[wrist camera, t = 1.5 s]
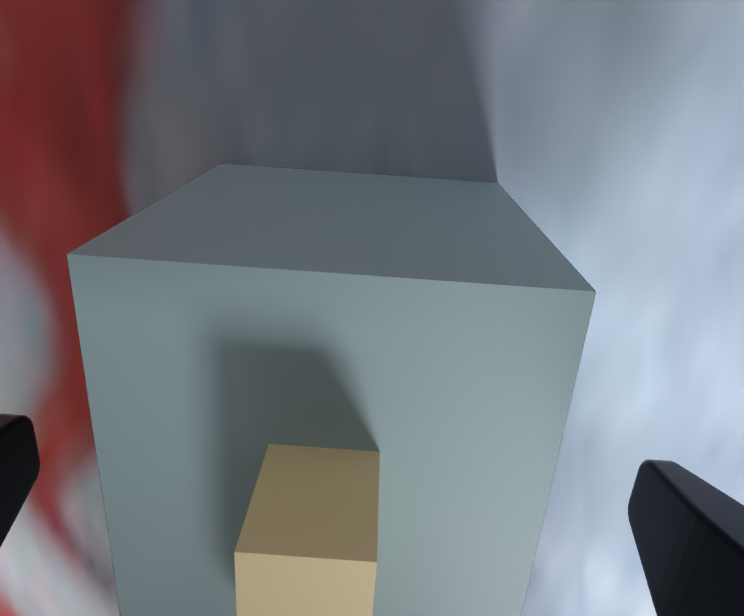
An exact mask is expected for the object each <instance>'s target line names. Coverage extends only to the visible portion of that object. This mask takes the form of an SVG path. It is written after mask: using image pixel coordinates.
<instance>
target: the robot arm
mask: <svg viewBox="0 0 744 616" xmlns="http://www.w3.org/2000/svg"><path fill="white" fill-rule="evenodd" d="M39 470H40V458H39V453H38V447H37V442H36V437H35V432H34V427H33V423H32V421H31V420H30V418H28V417H27V416H25V415H13V414H0V547H1V545H2V543H3V541H4V540H5V538H6V536H7V534H8V532H9V530H10V528H11V526H12V525H13V523H14V521H15V519H16V517H17V515H18V513H19V511H20V509H21V508H22V506H23V504H24V502H25V500H26V498H27V496H28V494H29V492H30V491H31V489H32V487H33V485H34V483H35V481H36V479H37V477H38V474H39ZM628 517H629V522H630V525H631V529H632V532H633V536H634V539H635V542H636V546H637V549H638V553H639V556H640V560H641V563H642V566H643V570H644V573H645V577H646V580H647V584H648V587H649V590H650V594H651V597H652V601H653V604H654V607H655V610H656V613H657V616H744V505H742V504H741V503H739V502H737V501H736V500H734V499H733V498H731V497H729V496H728V495H726V494H725V493H723V492H721V491H720V490H718V489H717V488H715V487H714V486H712V485H710V484H709V483H707V482H706V481H704V480H702V479H701V478H699V477H698V476H696V475H694V474H693V473H691V472H690V471H688V470H687V469H685V468H683V467H682V466H680V465H679V464H677V463H675V462H672V461H663V460H645V461H644V462H642V464H641V465H640V467H639V470H638V473H637V477H636V480H635V483H634V487H633V490H632V493H631V497H630V500H629V504H628Z"/></svg>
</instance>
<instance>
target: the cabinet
mask: <svg viewBox="0 0 744 616" xmlns="http://www.w3.org/2000/svg"><path fill="white" fill-rule="evenodd" d="M67 258H68V265H69V272H70V279H71V286H72V292H73V299H74V306H75V313H76V319H77V326H78V333H79V340H80V347H81V353H82V360H83V367H84V374H85V380H86V387H87V394H88V401H89V408H90V414H91V421H92V428H93V435H94V441H95V448H96V455H97V462H98V469H99V475H100V482H101V489H102V496H103V502H104V509H105V516H106V523H107V530H108V536H109V543H110V550H111V557H112V563H113V570H114V577H115V584H116V591H117V597H118V604H119V611H120V616H521V614H522V609H523V605H524V601H525V596H526V592H527V588H528V583H529V579H530V575H531V570H532V566H533V562H534V558H535V553H536V549H537V545H538V540H539V536H540V532H541V527H542V523H543V519H544V514H545V510H546V506H547V501H548V497H549V493H550V488H551V484H552V480H553V475H554V471H555V467H556V463H557V458H558V454H559V450H560V445H561V441H562V437H563V432H564V428H565V424H566V419H567V415H568V411H569V406H570V402H571V398H572V393H573V389H574V385H575V380H576V376H577V372H578V368H579V363H580V359H581V355H582V350H583V346H584V342H585V337H586V333H587V329H588V324H589V320H590V316H591V311H592V307H593V303H594V298H595V294H596V291H595V290H594V289H593V288H592V287H591V285H590V284H589V283H588V282H587V281H586V280H585V279H584V278H583V277H582V275H581V274H580V273H579V272H578V271H577V270H576V269H575V268H574V267H573V265H572V264H571V263H570V262H569V261H568V260H567V259H566V258H565V257H564V256H563V254H562V253H561V252H560V251H559V250H558V249H557V248H556V247H555V246H554V244H553V243H552V242H551V241H550V240H549V239H548V238H547V237H546V236H545V234H544V233H543V232H542V231H541V230H540V229H539V228H538V227H537V226H536V224H535V223H534V222H533V221H532V220H531V219H530V218H529V217H528V216H527V215H526V213H525V212H524V211H523V210H522V209H521V208H520V207H519V206H518V205H517V203H516V202H515V201H514V200H513V199H512V198H511V197H510V196H509V195H508V193H507V192H506V191H505V190H504V189H503V188H502V187H501V186H500V185H499V184H498V183H494V182H480V181H466V180H451V179H437V178H423V177H409V176H395V175H381V174H366V173H352V172H338V171H324V170H310V169H296V168H281V167H267V166H253V165H239V164H225V163H221V164H219V165H217V166H216V167H214V168H212V169H210V170H209V171H207V172H205V173H204V174H202V175H200V176H199V177H197V178H195V179H193V180H192V181H190V182H188V183H187V184H185V185H183V186H182V187H180V188H178V189H177V190H175V191H173V192H171V193H170V194H168V195H166V196H165V197H163V198H161V199H160V200H158V201H156V202H154V203H153V204H151V205H149V206H148V207H146V208H144V209H143V210H141V211H139V212H138V213H136V214H134V215H132V216H131V217H129V218H127V219H126V220H124V221H122V222H121V223H119V224H117V225H115V226H114V227H112V228H110V229H109V230H107V231H105V232H104V233H102V234H100V235H99V236H97V237H95V238H93V239H92V240H90V241H88V242H87V243H85V244H83V245H82V246H80V247H78V248H76V249H75V250H73V251H71V252H70V253H68V254H67Z"/></svg>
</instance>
